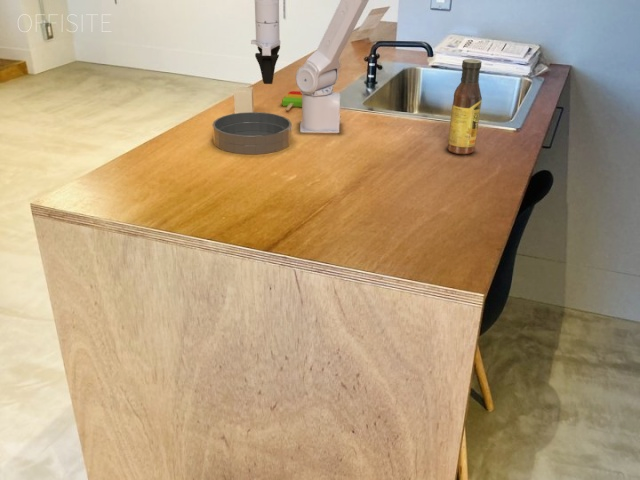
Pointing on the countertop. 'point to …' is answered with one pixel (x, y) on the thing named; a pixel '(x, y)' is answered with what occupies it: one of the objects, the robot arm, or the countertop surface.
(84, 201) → the countertop surface
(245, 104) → the cream block
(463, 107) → the sauce bottle
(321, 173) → the countertop surface
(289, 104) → the popsicle
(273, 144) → the steel cake pan
